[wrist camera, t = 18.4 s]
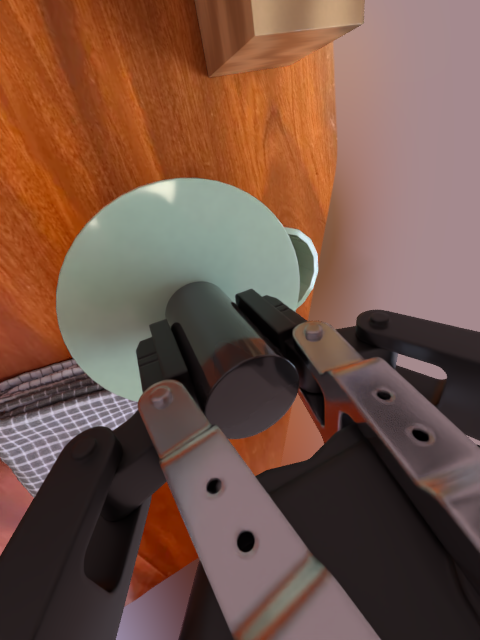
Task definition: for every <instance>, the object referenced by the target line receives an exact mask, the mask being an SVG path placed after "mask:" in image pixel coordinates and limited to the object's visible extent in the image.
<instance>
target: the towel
mask: <svg viewBox="0 0 480 640" xmlns="http://www.w3.org/2000/svg"><path fill="white" fill-rule="evenodd" d="M137 410H138V402H135V401H131V400H128V399H126V398H123V397H121V396H118V395H116V394H114V393H112V392H110V391H108V390H106V389H105V388H103V387H102V386H100V385H99V384H98V383H96V382H95V381H93V380H92V379H91V378H90V377H89V376H88V375H87V374H86V373H85V372H84V371H83V370H82V369H81V368H80V367H79V365H78V364H77V363H76V361H75V360H74V359H71V360H67V361H63V362H61V363H55V364H52V365H50V366H47V367H44V368H41V369H37V370H33V371H31V372H26V373H23V374H21V375H19V376H17V377H15V378H11V379H8V380H5V381H3V382H1V383H0V457H1V460H2V461H3V462H4V463H6V464H7V465H8V466H9V467H10V468H11V469H12V471H13V473H14V474H15V475H16V477H17V479H18V480H19V481H20V482H21V484H22V485H23V486H24V487H25V488H26V489H27V490H28V492H29V493H30V494H31V495H32V496H33V497H35V496H36V494H37V492H38V490H39V489H40V487H41V485H42V484H43V482H44V480H45V478H46V477H47V475H48V473H49V472H50V470H51V468H52V466H53V465H54V463H55V461H56V460H57V458H58V456H59V454H60V453H61V451H62V450H63V448H64V447H65V446H66V445H67V444H68V443H69V442H70V441H71V440H72V439H73V438H74V437H75V436H77V435H78V434H80V433H81V432H83V431H85V430H87V429H89V428H92V427H97V426H104V427H108V428H110V429H111V430H112V431H113V430H114V429H116V428H117V427H119V426H120V425H121V424H123V423H124V422H126V421H127V420H128V419H129V418H131V417H132V416H133V415H134V414H135V412H136V411H137Z"/></svg>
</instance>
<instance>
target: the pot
mask: <svg viewBox="0 0 480 640" xmlns="http://www.w3.org/2000/svg"><path fill="white" fill-rule="evenodd" d="M283 227H284V228H285V230H286V232H287V234H288V235H289V237H290V240H291V242H292V245H293V247H294V249H295V253H296V257H297V261H298V267H299V275H300V289H299V297H298V303H297V307H296V309H297V308H298V307H299V306H300V305H301V304H303V303H304V301H305V300H306V298H307V297H308V295H309V294H310V292H311V291H312V289H313V287H314V284H315V280H316V277H317V274H318V254H317V252H316V249H315V247H314V245H313V243H312V240H311V239H310V238H309V237H307V236H306V235H305V234H304V233H302V232H301V231H300V230H298V229H296V228H292V227H289V226H286V225H283Z"/></svg>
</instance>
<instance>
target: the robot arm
mask: <svg viewBox="0 0 480 640" xmlns="http://www.w3.org/2000/svg"><path fill="white" fill-rule="evenodd" d="M235 301H236V305H237V306H238V307H239V308H240V309H241V310H242V311H243V312H244V313H245V314H246V315H247V316H248V317H249V318H250V319H251V320H252V321H253V322H254V323H255V324H256V325H257V327H258V328H259V329H260V330H261V331H262V332H263V333H264V334H265V335H266V336H267V337H268V338H269V339H270V340H271V341H272V342H273V343H274V344H275V345H276V346H277V347H278V348H279V349H280V350H281V351H282V352H283V353H284V355H285V356H286V357H287V358H288V359H289V360H290V361H291V362H292V363H293V364H294V365H295V367H296V369H297V371H298V374H299V389H298V394H299V396H300V398H301V400H302V401H303V403H304V405H305V407H306V408H307V410H308V412H309V414H310V416H311V417H312V419H313V421H314V423H315V424H316V426H317V428H318V430H319V432H320V433H321V436H322V438H323V441H324V445H323V446H322V447H321V448H320V449H319V450H318V451H317V452H316V453H315V454H314V455H313V456H312V457H311V458H310V459H308V460H306V461H303V462H299V463H294V464H290V465H286V466H282V467H278V468H274V469H270V470H266V471H264V472H262V473H261V474H259V475H257V476H254V474H253V473H252V472H251V470H250V469H249V467H248V466H247V465H246V463H245V462H244V461H243V459H242V458H241V457H240V455H239V454H238V452H237V451H236V450H235V448H234V447H233V446H232V444H231V443H230V442H229V440H228V439H227V437H226V436H225V435H224V433H223V432H222V431H221V429H220V428H219V427H218V426H217V425H216V424H214V425H211V423H210V422H209V421H208V419H207V418H206V416H205V415H204V413H203V412H202V411H201V409H200V407H199V405H198V402H197V400H196V397H195V393H194V386H193V383H192V380H191V378H190V375H189V372H188V370H187V367H186V365H185V362H184V360H183V357H182V355H181V352H180V350H179V348H178V345H177V343H176V340H175V338H174V335H173V333H172V330H171V328H170V326H169V323H168V321H167V319H164V320H161V321H158V322H155V323H153V324H150V325H149V327H150V331H151V335H152V337H150V338H148V339H145V340H142V341H140V342H139V344H138V347H137V349H136V355H137V361H138V366H139V373H140V379H141V385H142V391H143V393H142V395H141V396H140V398H139V400H138V410H137V411H136V412H135V414H134V415H133V416H132V417H131V418H129V419H128V420H127V421H126V422H124V423H123V424H121V425H120V426H119V427H117V428H116V429H114V430H113V431H112V430H111V429H110V428H108V427H104V426H97V427H92V428H89V429H87V430H85V431H83V432H81V433H80V434H78V435H77V436H75V437H74V438H73V439H72V440H71V441H70V442H69V443H68V444H67V445H66V446H65V447H64V448H63V450H62V451H61V453H60V454H59V456H58V458H57V460H56V461H55V463H54V465H53V466H52V468H51V470H50V472H49V473H48V475H47V477H46V478H45V480H44V482H43V484H42V485H41V487H40V489H39V490H38V492H37V494H36V496H35V497H34V499H33V501H32V502H31V504H30V506H29V508H28V509H27V511H26V513H25V515H24V516H23V518H22V520H21V521H20V523H19V525H18V527H17V528H16V530H15V532H14V533H13V535H12V537H11V539H10V540H9V542H8V544H7V545H6V547H5V549H4V551H3V552H2V554H1V556H0V640H116V636H117V632H118V628H119V624H120V620H121V616H122V613H123V609H124V605H125V601H126V597H127V593H128V589H129V585H130V581H131V577H132V573H133V569H134V565H135V561H136V557H137V553H138V549H139V545H140V541H141V537H142V534H143V530H144V526H145V522H146V518H147V514H148V510H149V506H150V502H151V495H152V494H153V493H154V492H155V491H156V490H158V489H159V488H160V487H161V486H162V485H163V484H164V483H165V482H166V481H167V483H168V485H169V488H170V490H171V492H172V495H173V497H174V499H175V502H176V504H177V506H178V509H179V511H180V514H181V516H182V518H183V521H184V523H185V525H186V528H187V530H188V532H189V535H190V537H191V539H192V542H193V544H194V547H195V549H196V551H197V554H198V556H199V558H200V560H199V564H198V567H197V571H196V575H195V578H194V582H193V586H192V590H191V594H190V597H189V602H188V605H187V609H186V613H185V617H184V620H183V624H182V628H181V632H180V636H179V639H178V640H480V446H479V445H476V444H475V443H474V442H473V441H471V440H470V439H469V438H468V437H467V436H466V435H468V436H470V437H473V438H475V439H477V440H479V441H480V332H477V331H472V330H467V329H463V328H459V327H454V326H450V325H446V324H442V323H437V322H433V321H428V320H424V319H419V318H415V317H411V316H406V315H402V314H398V313H393V312H389V311H384V310H370V311H366V312H363V313H361V314H360V315H359V316H358V317H357V321H356V326H353V327H347V328H342V329H334V328H333V327H332V326H331V325H329V324H327V323H325V322H322V321H307V320H305V319H304V318H303V317H301V316H300V315H299V314H297V313H296V312H295V311H293V310H292V309H291V308H290V309H289V307H288V306H287V305H285V304H284V303H283V302H281V301H280V300H279V299H277V298H275V297H272V296H268V295H265V296H261V295H259V294H258V293H257V292H256V291H255V290H253V289H249V290H246V291H243V292H240V293H237V294H236V295H235ZM398 354H402V355H405V356H408V357H411V358H415V359H418V360H421V361H424V362H427V363H431V364H434V365H436V366H439V367H441V368H442V369H443V370H444V371H445V372H446V374H447V379H444V380H439V379H435V378H432V377H429V376H426V375H423V374H421V373H417V372H415V371H411V370H409V369H406V368H403V367H400V366H397V365H396V362H397V356H398Z"/></svg>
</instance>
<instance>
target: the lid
mask: <svg viewBox="0 0 480 640" xmlns="http://www.w3.org/2000/svg"><path fill="white" fill-rule="evenodd" d="M249 289H253V290H255V291H256V292H257V293H258V294H259V295H261V296H265V295H268V296H272V297H275V298H277V299H279V300H280V301H281V302H283V303H284V304H285V305H287V306H288V307H289V309H290V308H291V309H292V310H293V311H296V307H297V303H298V297H299V289H300V275H299V267H298V261H297V257H296V253H295V249H294V247H293V245H292V242H291V240H290V237H289V235H288V234H287V232H286V230H285V228H284V227H283V225H282V224H281V222H280V221H279V220H278V219H277V217H276V216H275V215H274V214H273V212H271V211H270V210H269V209H268V208H267V207H266V206H265V205H264V204H263V203H262V202H260V201H259V200H258V199H256V198H255V197H253V196H252V195H250V194H249V193H247V192H245V191H243V190H241V189H239V188H237V187H235V186H232V185H229V184H226V183H222V182H219V181H215V180H209V179H202V178H170V179H164V180H157V181H154V182H151V183H147V184H144V185H141V186H138V187H136V188H134V189H132V190H130V191H127V192H125V193H123V194H121V195H119V196H118V197H116V198H115V199H114V200H112V201H111V202H109V203H108V204H106V205H105V206H103V207H102V208H101V209H100V210H99V211H98V212H97V213H96V214H95V215H94V216H93V217H91V218H90V219H89V220H88V222H87V223H86V224H85V225H84V227H83V228H82V229H81V231H80V232H79V233H78V234H77V236H76V237H75V239H74V241H73V243H72V245H71V247H70V248H69V250H68V252H67V254H66V256H65V259H64V262H63V265H62V268H61V270H60V273H59V279H58V284H57V290H56V312H57V318H58V324H59V329H60V332H61V334H62V337H63V340H64V343H65V345H66V347H67V348H68V350H69V352H70V354H71V356H72V357H73V359H74V360H75V361H76V363H77V364H78V365H79V367H80V368H81V369H82V370H83V371H84V372H85V373H86V374H87V375H88V376H89V377H90V378H91V379H92V380H93V381H95V382H96V383H98V384H99V385H100V386H102V387H103V388H105V389H106V390H108V391H110V392H112V393H114V394H116V395H118V396H121V397H123V398H126V399H128V400H131V401H135V402H138V400H139V398H140V396H141V395H142V393H143V391H142V385H141V379H140V373H139V366H138V361H137V355H136V349H137V347H138V344H139V342H140V341H142V340H145V339H148V338H150V337H152V335H151V331H150V327H149V325H150V324H153V323H155V322H158V321H161V320H164V319H167V321H168V323H169V326H170V328H171V330H172V333H173V335H174V338H175V340H176V343H177V345H178V348H179V350H180V352H181V355H182V357H183V360H184V362H185V365H186V367H187V370H188V372H189V375H190V378H191V380H192V383H193V386H194V393H195V397H196V400H197V402H198V405H199V407H200V409H201V411H202V412H203V413H204V415H205V416H206V418H207V419H208V421H209V422H210V423H211V425H214V424H216V425H217V426H218V427H219V428H220V429H221V431H222V432H223V433H224V435H225V436H226V437H227V438H228V439H240V438H246V437H250V436H253V435H256V434H258V433H260V432H262V431H264V430H266V429H267V428H269V427H270V426H272V425H273V424H275V423H276V422H277V421H278V420H279V419H280V418H282V416H283V415H284V414H285V413H286V412H287V411H288V410H289V408H290V407H291V405H292V404H293V402H294V400H295V398H296V395H297V393H298V389H299V374H298V371H297V369H296V367H295V365H294V364H293V363H292V362H291V361H290V360H289V359H288V358H287V357H286V356H285V355H284V353H283V352H282V351H281V350H280V349H279V348H278V347H277V346H276V345H275V344H274V343H273V342H272V341H271V340H270V339H269V338H268V337H267V336H266V335H265V334H264V333H263V332H262V331H261V330H260V329H259V328H258V327H257V325H256V324H255V323H254V322H253V321H252V320H251V319H250V318H249V317H248V316H247V315H246V314H245V313H244V312H243V311H242V310H241V309H240V308H239V307H238V306H237V305H236V301H235V295H236V294H237V293H240V292H243V291H246V290H249Z"/></svg>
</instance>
